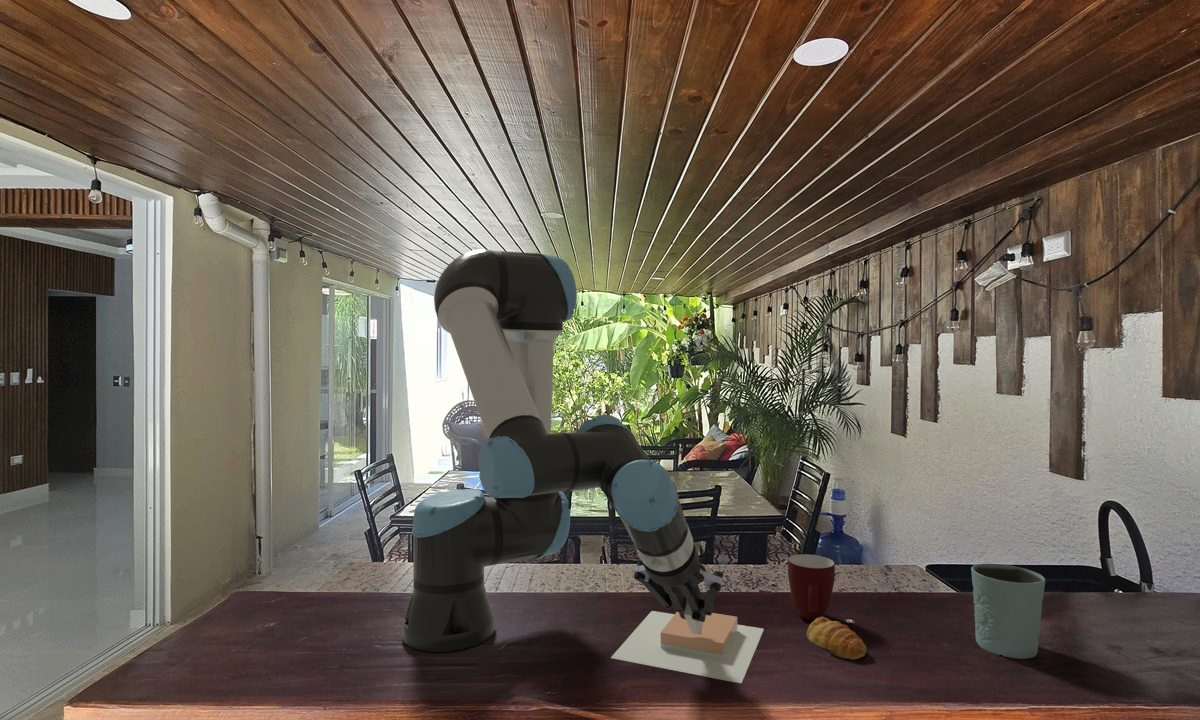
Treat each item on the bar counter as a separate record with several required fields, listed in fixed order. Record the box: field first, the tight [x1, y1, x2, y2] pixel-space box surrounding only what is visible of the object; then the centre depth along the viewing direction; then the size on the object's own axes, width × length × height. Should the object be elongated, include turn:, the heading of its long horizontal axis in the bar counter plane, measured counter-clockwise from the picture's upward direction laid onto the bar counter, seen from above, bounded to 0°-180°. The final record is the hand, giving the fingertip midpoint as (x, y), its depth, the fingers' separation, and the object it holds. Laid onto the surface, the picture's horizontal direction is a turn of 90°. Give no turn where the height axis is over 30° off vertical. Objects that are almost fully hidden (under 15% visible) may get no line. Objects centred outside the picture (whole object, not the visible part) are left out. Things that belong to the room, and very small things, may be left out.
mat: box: [610, 610, 765, 685], centre depth 107 cm, size 20×20×1 cm
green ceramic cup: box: [970, 563, 1046, 660], centre depth 107 cm, size 10×10×12 cm
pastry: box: [806, 616, 868, 661], centre depth 106 cm, size 9×7×4 cm
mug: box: [787, 553, 836, 622], centre depth 118 cm, size 11×8×10 cm
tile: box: [661, 611, 738, 659], centre depth 108 cm, size 10×2×11 cm
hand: (698, 625), depth 104 cm, fingers closed
